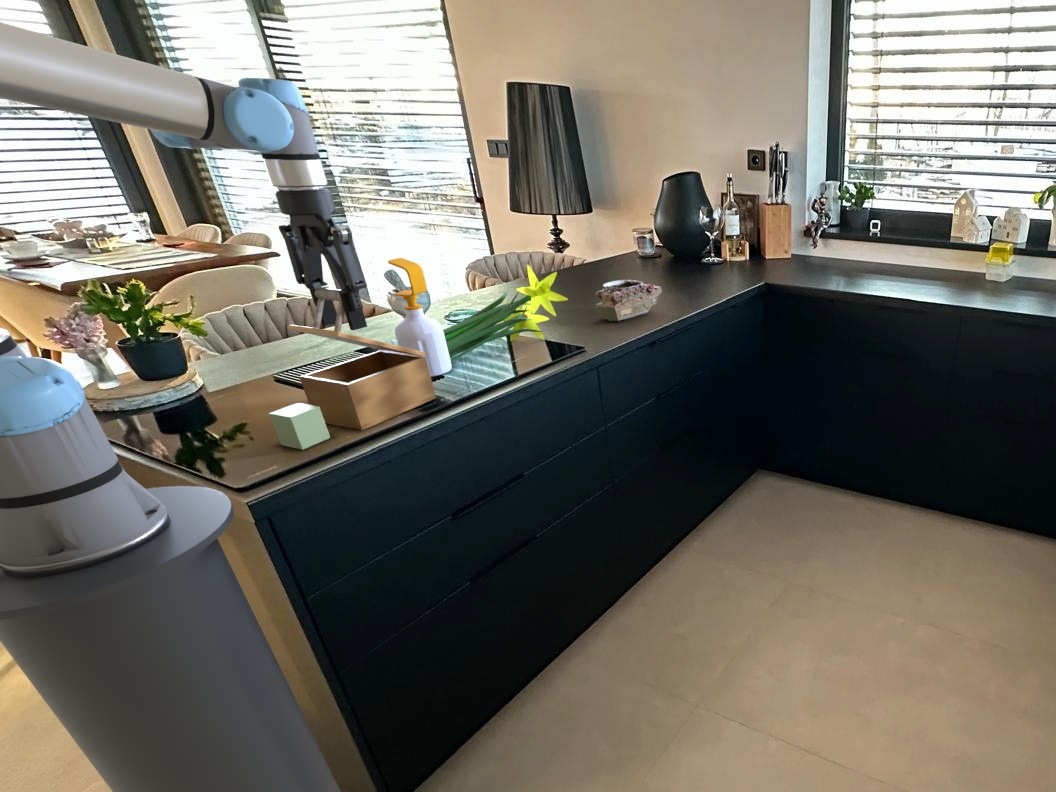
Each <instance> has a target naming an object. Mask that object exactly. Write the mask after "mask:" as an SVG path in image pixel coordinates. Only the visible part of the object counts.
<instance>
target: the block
mask: <svg viewBox="0 0 1056 792" xmlns="http://www.w3.org/2000/svg"><path fill="white" fill-rule="evenodd" d="M268 415H269V417H270V420H271V423H272V425H273V428H274V430H275V433H276V435H277V437H278V440H279V442H280V443H279V444H280V445H281V446H283V447H288V448H294V449H298V450H302V451H303V450H305V449H308V448H310V447H313V446H315V445H317V444H320V443H322V442H324V441H326V440H329V439H331V435H330V433H329V429H328V427H327V423H325V421H324V418H323V415H322V413H321V410H320V407H318V406H313V405H309V403H308V404H307V403H304V402H303V403H302V402H297V403H294V404H290V405H288V406H285V407H282V408H280V409H276V410H273V411H271V412H269V413H268Z"/></svg>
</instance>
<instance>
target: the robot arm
mask: <svg viewBox="0 0 1056 792" xmlns="http://www.w3.org/2000/svg"><path fill="white" fill-rule="evenodd" d="M237 85H238V86H232V85H229V84H225V83H221V82H218V81H214V80H210V79H206V78H202V77H198V76H194V75H192V74H189V73H185V72H181V71H179V70H178V71H177V70H175V69H171V68H168V67H163V66H159V65H157V64H152V63H150V62H145V61H141V60H138V59H134V58H131V57H127V56H123V55H120V54H116V53H113V52H109V51H106V50H102V49H98V48H95V47H91V46H87V45H85V44H84V45H83V44H80V43H76V42H73V41H69V40H66V39H62V38H59V37H56V36H52V35H47V34H44V33H41V32H37V31H34V30H30V29H26V28H22V27H19V26H15V25H11V24H8V23H4V22H2V21H1V22H0V99H2V100H6V101H7V100H8V101H13V102H17V103H22V104H26V105H31V106H36V107H40V108H46V109H51V110H56V111H61V112H64V113H69V114H70V113H71V114H76V115H78V116H79V115H80V116H85V117H89V118H95V119H98V120H103V121H108V122H112V123H119V124H123V125H128V126H133V127H136V128H137V127H138V128H143V129H148V130H150V131H151V133H152V134H153V136H154V138H155V139H156V140H157V141H159V143H161V144H162V145H164V146H166V147H169V148H180V149H189V150H194V149H218V150H219V149H220V150H235V151H236V150H243V151H253V152H258V153H261V157H262V159H263V160H262V161H263V163H264V167H265V169H266V173H267V176H268V180H269V182H270V185H271V186H273V187H275V188H276V190H274V196H275V199H276V202H277V205H278V208H279V211H280V213H281V214H283V215H285V216H289V224H282V225H278V230H279V232H280V234H281V235H282V238H283V240H284V242H285V246H286V250H287V253H288V256H289V260H290V263H291V267H292V270H293V274H294V277H295V281H296V282H297V284H299V285H304V286H305V288H306V289H308V290H309V292H310V293H309V294H310V295H311V298H312V302H313V304H314V306H315V309H316V308H317V302H318V298H317V297H316V295H315V290H316V289H317V288H319V287H321V288H329V286H328V282H327V281H324V275H323V262H322V260H323V259H322V256H323V257H324V259H325V261H326V263H327V264H328V267H329V268H330V270H331V272H332V274H333V276H334V278H335V279H336V282H337V283H338V285H339V287H340V290H341V291H338V292H339V294H340V298H341V301H342V304H343V307H344V315H345V317H346V321H347V323H348V327H349V329H350V331H356V330H361V329H363V328H367V327H368V323H367V320H366V317H365V314H364V306H363V303H362V299H361V296H360V290H362V289H365V288H367V286H368V285H367V281H366V279H365V276H364V273H363V270H362V267H361V264H360V263H361V262H360V260H359V258H358V255H357V252H356V249H355V246H354V243H353V231H352V230H351V229H350V228H341V227H339V226H337V223H336V222H335V221H334V219H333V216H332V214H334V213H335V212H336V210H337V209H336V205H335V202H334V198H333V196H332V195H333V194H332V192H331V190H329V188H325V187H326V186H328V184H329V181H328V179H327V176H326V173H325V170H324V166H323V163H322V160H321V155H320V152H319V149H318V146H317V142H316V137H315V134H314V131H313V128H312V124H311V120H310V113H309V111H308V109H307V107H306V103H305V101H304V98H303V96H302V94H301V90H300V88H299V87H298V86H297V85H296V83H294V82H292V81H290V80H286V79H277V78H262V77H259V78H258V77H241V78H239V79H238V81H237ZM336 317H337V310H336V307H335V304H334V301H333V300H325V301H324V307H323V312H322V318H321V326H322V327H328V326H329V327H330V326H333V325H335V323H336ZM146 489H147V488H145V487H144V486H143V485H141V484H140V483H139V482H137V481H136V480H135V479H134V478H133V477H131V476H130V475H129V474H128V473H127V472H126V471H125V468H124V467H123V465H122V464H121V462H120V460H119V457H118V456H117V454H116V452H115V450H114V448H113V446H112V445H111V443H110V440H109V439H108V437H107V435H106V433H105V431H104V429H103V428H102V425H101V424H100V422H99V420H98V418H97V416H96V414H95V413H94V411H93V409H92V407H91V405H90V403H89V402H88V400H87V398H86V393H85V391H84V387H83V386H82V385H81V383H80V382H79V381H78V380H77V379H76V378H75V377H74V375H73V373H72V372H71V371H70V370H69V369H68V368H67V367H66V366H65V365H63V364H62V363H59V362H57V361H55V360H52V359H48V358H44V357H37V356H36V357H35V356H29V357H28V356H27V354H26V352H24V350H23V349H22V348H21V346H20V345H19V344H18V343H17V341H15V338H13V336H12V335H11V334H10V332H9V331H8V330H6V329H3V328H0V568H1V569H2V571H3V572H4V573H5V574H8V575H11V576H15V577H43V576H51V575H57V574H63V573H68V572H72V571H76V570H80V569H84V568H88V567H91V566H94V565H98V564H101V563H104V562H106V561H109V560H112V559H115V558H117V557H120V556H122V555H124V554H127V553H129V552H131V551H133V550H135V549H137V548H139V547H141V546H143V545H145V544H146V543H148V542H150V541H151V540H153V539H154V538H156V537H157V536H158V535H160V534H161V533H162V532H163V531H164V530H165V529H166V528H167V527H168V525H169V523H170V520H171V518H170V515H169V514H168V512H167V510H166V508H165V506H164V505H163V504H162V503H161V502H160V501H159V500H158V499H157V498H156V497H154V496H153V495H152V494H151V493H150V492H148V491H147V490H146Z"/></svg>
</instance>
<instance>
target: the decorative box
mask: <svg viewBox="0 0 1056 792" xmlns="http://www.w3.org/2000/svg"><path fill="white" fill-rule="evenodd" d="M662 293H663V290H662V286H658V285H655V284H653V283H648V284H647V283H644V282H643V281H641V280H638V279H618V280H612V281H608V282H605V283H603V285H602V289H601V290H597V291H595V298H596V299H598V300H601V302H598V303H596V304H595V306H596V309H597V311H598V313H599V316H600V318H601V319H603V320H608V321H609V322H613V321H615V322H619V321H623V320H629V319H632V318H635V317H638V316H641V315H644V314H648V313H649V310H650V309H651V307H652V306H656V304H657V302H658V298H659V297H660V294H662Z"/></svg>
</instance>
